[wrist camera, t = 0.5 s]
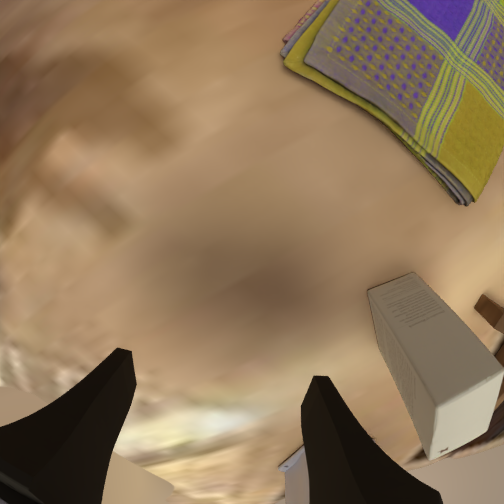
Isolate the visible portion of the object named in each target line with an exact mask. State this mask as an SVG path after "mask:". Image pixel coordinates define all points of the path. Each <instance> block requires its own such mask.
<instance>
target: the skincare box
mask: <svg viewBox="0 0 504 504" xmlns="http://www.w3.org/2000/svg"><path fill="white" fill-rule="evenodd" d="M367 293H368V298H369V302H370V307H371V311H372V316H373V321H374V326H375V331H376V336H377V341H378V347H379V350H380V352H381V354H382V356H383V358H384V360H385V362H386V364H387V366H388V368H389V370H390V373H391V375H392V377H393V379H394V381H395V383H396V385H397V387H398V390H399V392H400V394H401V396H402V398H403V401H404V403H405V405H406V408H407V410H408V412H409V414H410V417H411V419H412V421H413V424H414V426H415V428H416V431H417V433H418V436H419V439H420V441H421V443H422V446H423V448H424V451H425V453H426V455H427V458H428V459H429V460H433V459H435V458H438V457H440V456H442V455H444V454H446V453H448V452H450V451H452V450H454V449H456V448H458V447H460V446H462V445H464V444H466V443H468V442H470V441H471V440H473V439H475V438H477V437H478V436H480V435H481V434H483V433H485V432H486V431H487V429H488V426H489V423H490V420H491V417H492V414H493V411H494V408H495V405H496V402H497V398H498V395H499V391H500V387H501V384H502V380H503V376H504V367H503V366H502V365H501V364H500V363H499V362H498V360H497V359H496V358H495V357H494V356H493V354H492V353H491V352H490V351H489V350H488V349H487V347H486V346H485V345H484V344H483V343H482V342H481V341H480V339H479V338H478V337H477V336H476V335H475V334H474V333H473V332H472V331H471V329H470V328H469V327H468V326H467V325H466V324H465V323H464V322H463V321H462V320H461V319H460V318H459V316H458V315H457V314H456V313H455V312H454V311H453V310H452V309H451V308H450V307H449V306H448V305H447V304H446V303H445V302H444V301H443V300H442V299H441V298H440V297H439V296H438V295H437V294H436V293H435V292H434V291H433V290H432V289H431V288H430V287H429V286H428V285H427V284H426V283H425V282H424V281H423V280H422V279H421V278H420V277H419V276H418V275H417V274H416V273H410V274H407V275H405V276H403V277H400V278H398V279H395V280H393V281H390V282H388V283H385V284H383V285H380V286H377V287H375V288H372V289H370V290H368V291H367Z"/></svg>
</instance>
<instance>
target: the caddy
mask: <svg viewBox="0 0 504 504" xmlns="http://www.w3.org/2000/svg"><path fill="white" fill-rule="evenodd" d="M474 308H475V309H476V310H477V311H478V312H479V313H480V314H481V315H482V316H483V317H484V318H485V319H486V321H487V322H488V323H489V324H490V325H491V326H492V327H493V328H495V329H496V330H498V331H500V332H501V333H503V334H504V309H503V308H502V307H500V306H499V305H498V304H496V303H495V302H493V301H492V300H490V299H489V298H488V297H486V296H485V295H483V294H482V296H481V298H480V299H479V301H478V302H477V304H476V306H475V307H474ZM494 357H495V358H496V359H497V360H498V362H499V363H500V364H501V365H502V366H503V367H504V344H503V346H502V347H501V348H500V350H499V351H498V352H497V354H496V355H495V356H494ZM503 400H504V376H503V380H502V384H501V387H500V391H499V395H498V398H497V402H496V405H495V408H494V410H495V409H496V408H497V407H498V406H499V405H500V404H501V403H502V401H503Z"/></svg>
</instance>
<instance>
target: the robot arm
mask: <svg viewBox="0 0 504 504" xmlns="http://www.w3.org/2000/svg"><path fill="white" fill-rule="evenodd" d="M136 385H137V383H136V377H135V371H134V365H133V358H132V351H129V350H125V349H121V348H117V349H115V350H114V351H113V352H112V353H111V354H110V355H109V356H108V357H107V358H106V359H105V360H104V361H102V362H101V363H100V364H99V365H98V366H97V367H96V368H95V369H94V370H93V371H92V372H90V373H89V374H88V375H87V376H86V377H85V378H84V379H82V380H81V381H80V382H79V383H78V384H76V385H75V386H74V387H73V388H71V389H70V390H69V391H67V392H66V393H65V394H63V395H62V396H61V397H59V398H58V399H56V400H55V401H53V402H52V403H50V404H49V405H47V406H46V407H44V408H42V409H40V410H38V411H37V412H35V413H33V414H31V415H29V416H27V417H25V418H22V419H20V420H18V421H16V422H13V423H11V424H8V425H5V426H2V427H0V504H101V502H102V496H103V490H104V484H105V479H106V475H107V470H108V466H109V462H110V458H111V454H112V451H113V448H114V445H115V443H116V441H117V438H118V436H119V433H120V431H121V428H122V426H123V423H124V421H125V419H126V416H127V414H128V411H129V409H130V406H131V403H132V400H133V396H134V392H135V389H136ZM301 428H302V435H303V442H304V446H302V447H301V448H300V449H299V450H298V451H297V452H296V453H295V454H293V455H292V456H291V457H290V458H289V459H288V460H286V461H285V462H284V463H283V464H282V465H280V466H279V467H278V470H279V471H282V472H285V499H286V504H443V501H442V499H441V495H440V493H439V492H438V491H437V490H435V489H433V488H431V487H430V486H428V485H426V484H424V483H422V482H421V481H419V480H418V479H416V478H415V477H414V476H412V475H411V474H409V473H408V472H407V471H405V470H404V469H403V468H402V467H400V466H399V465H398V464H397V463H396V462H394V461H393V460H392V459H391V458H390V457H389V456H388V455H387V454H386V453H385V452H384V451H383V450H382V449H381V448H380V447H379V446H378V445H377V444H376V443H375V440H374V439H372V438H371V437H370V436H369V435H368V434H367V432H366V431H365V430H364V429H363V427H362V426H361V425H360V423H359V422H358V421H357V419H356V418H355V416H354V415H353V414H352V412H351V411H350V409H349V408H348V406H347V405H346V403H345V402H344V400H343V399H342V397H341V396H340V394H339V392H338V391H337V389H336V387H335V386H334V384H333V383H332V381H331V379H330V378H329V377H328V376H313V379H312V381H311V383H310V386H309V388H308V391H307V393H306V395H305V398H304V400H303V402H302V405H301Z"/></svg>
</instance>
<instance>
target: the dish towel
mask: <svg viewBox="0 0 504 504" xmlns="http://www.w3.org/2000/svg"><path fill="white" fill-rule="evenodd" d="M283 41H284V42H285V43H286V45H285V47H284V48H283V49H282V50H281V51H280V55H282V56H283V57H284V58H285V59H284V61H283V64H284V65H285V66H286V67H288V68H289V69H291V70H292V71H294V72H296V73H298V74H300V75H302V76H304V77H306V78H309V79H311V80H313V81H315V82H316V83H318V84H320V85H321V86H323V87H324V88H326V89H328V90H330V91H332V92H333V93H335V94H337V95H339V96H341V97H343V98H345V99H347V100H349V101H351V102H353V103H355V104H356V105H358V106H359V107H361V108H362V109H364V110H365V111H367V112H368V113H370V114H371V115H373V116H374V117H376V118H377V119H379V120H380V121H381V122H383V123H384V124H385V125H386V126H387V127H388V128H389V129H390V130H391V131H392V132H393V133H394V134H395V135H396V136H397V137H398V138H399V139H400V140H401V141H402V142H403V143H404V144H405V145H406V146H407V148H408V149H409V150H410V151H411V152H412V153H413V154H414V155H415V156H416V157H417V158H418V159H419V160H420V161H421V162H422V163H423V164H424V166H425V167H426V168H427V169H428V170H429V171H430V173H431V174H432V175H433V176H434V177H435V178H436V179H437V180H438V182H439V183H440V184H441V185H442V186H443V188H444V189H445V190H446V191H447V193H448V194H449V195H450V197H451V198H453V199H454V201H455V202H456V203H457V204H458V205H465V206H468V205H469V204H470V203H471V201H472V202H474V203H475V202H476V201H477V199H478V198H479V196H480V194H481V193H482V191H483V189H484V187H485V185H486V184H487V182H488V179H489V178H490V175H491V174H492V171H493V169H494V167H495V165H496V164H497V161H498V159H499V156H500V154H501V152H502V149H503V146H504V0H318V1H317V2H316V3H315V4H314V5H313V6H312V7H311V9H310V10H308V11H307V12H306V14H305V15H304V17H302V18H301V19H300V20H299V22H298V24H297V25H296V26H295V28H294V29H292V30H291V31H290V32H289V33H288V34H287V35H286V36H285V37H284V38H283Z"/></svg>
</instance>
